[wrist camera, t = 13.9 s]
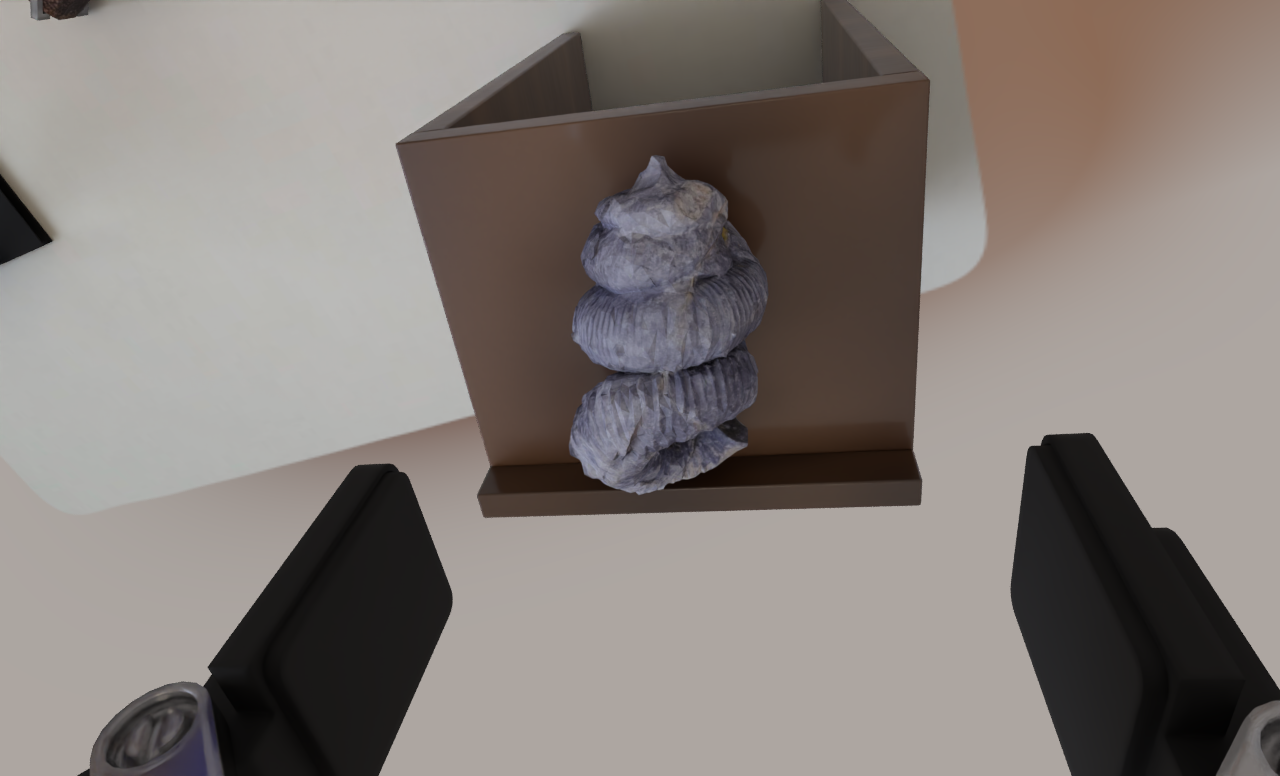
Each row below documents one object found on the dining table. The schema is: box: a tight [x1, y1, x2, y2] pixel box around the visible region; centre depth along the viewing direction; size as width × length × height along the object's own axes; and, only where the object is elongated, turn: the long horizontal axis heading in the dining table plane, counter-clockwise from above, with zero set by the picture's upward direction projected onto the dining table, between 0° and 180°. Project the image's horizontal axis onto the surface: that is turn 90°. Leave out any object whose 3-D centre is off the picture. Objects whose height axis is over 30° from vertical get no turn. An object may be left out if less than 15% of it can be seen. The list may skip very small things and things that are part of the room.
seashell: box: [569, 155, 768, 495], centre depth 21 cm, size 5×5×10 cm
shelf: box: [396, 0, 930, 518], centre depth 32 cm, size 14×12×24 cm
